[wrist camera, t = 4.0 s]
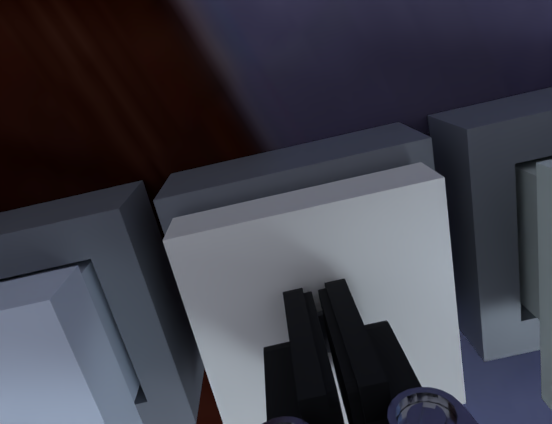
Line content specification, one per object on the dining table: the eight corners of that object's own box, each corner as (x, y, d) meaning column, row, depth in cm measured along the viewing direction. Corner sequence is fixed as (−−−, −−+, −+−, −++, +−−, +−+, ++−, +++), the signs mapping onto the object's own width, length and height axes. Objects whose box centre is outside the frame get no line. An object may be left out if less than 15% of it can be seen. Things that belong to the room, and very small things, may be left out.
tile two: (115, 218, 14) (45, 304, 9) (181, 398, 16) (152, 541, 11) (-105, 268, 14) (-286, 378, 9) (-9, 439, 16) (-113, 595, 12)
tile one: (388, 140, 15) (447, 179, 11) (411, 313, 18) (468, 408, 13) (188, 185, 16) (161, 244, 11) (237, 351, 18) (232, 458, 13)
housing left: (142, 180, 16) (118, 208, 13) (204, 366, 18) (195, 423, 16) (-80, 230, 16) (-151, 269, 13) (14, 407, 19) (-29, 471, 16)
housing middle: (398, 121, 15) (431, 137, 13) (423, 318, 18) (454, 368, 15) (170, 173, 16) (152, 200, 13) (228, 361, 18) (224, 417, 16)
